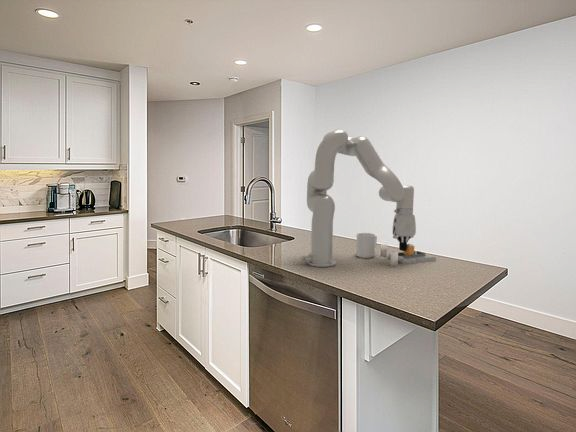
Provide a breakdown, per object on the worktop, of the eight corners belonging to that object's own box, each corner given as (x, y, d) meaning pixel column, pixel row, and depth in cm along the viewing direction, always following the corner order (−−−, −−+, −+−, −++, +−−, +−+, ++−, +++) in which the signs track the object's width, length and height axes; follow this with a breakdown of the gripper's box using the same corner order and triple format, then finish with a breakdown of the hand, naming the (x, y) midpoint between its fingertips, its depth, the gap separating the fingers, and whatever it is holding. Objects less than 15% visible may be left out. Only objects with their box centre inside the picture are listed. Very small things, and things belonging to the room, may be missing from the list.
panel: (402, 263, 167) (403, 256, 167) (388, 257, 179) (388, 251, 178) (435, 261, 173) (436, 254, 172) (419, 255, 184) (419, 249, 184)
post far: (382, 256, 180) (383, 244, 180) (379, 255, 183) (379, 243, 183) (387, 256, 181) (388, 244, 181) (384, 255, 184) (385, 243, 183)
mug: (365, 259, 175) (366, 236, 173) (352, 256, 182) (352, 233, 180) (382, 256, 182) (383, 234, 180) (368, 253, 189) (369, 231, 188)
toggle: (408, 255, 172) (409, 245, 172) (403, 254, 176) (403, 243, 176) (414, 255, 173) (414, 244, 173) (408, 253, 177) (409, 243, 176)
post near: (393, 266, 162) (393, 253, 161) (389, 265, 164) (389, 252, 164) (398, 266, 162) (399, 253, 162) (395, 264, 165) (395, 251, 165)
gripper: (395, 213, 165) (393, 253, 168) (423, 212, 170) (421, 251, 172) (386, 211, 173) (384, 249, 175) (413, 210, 177) (411, 247, 179)
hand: (402, 250), depth 173 cm, fingers closed
